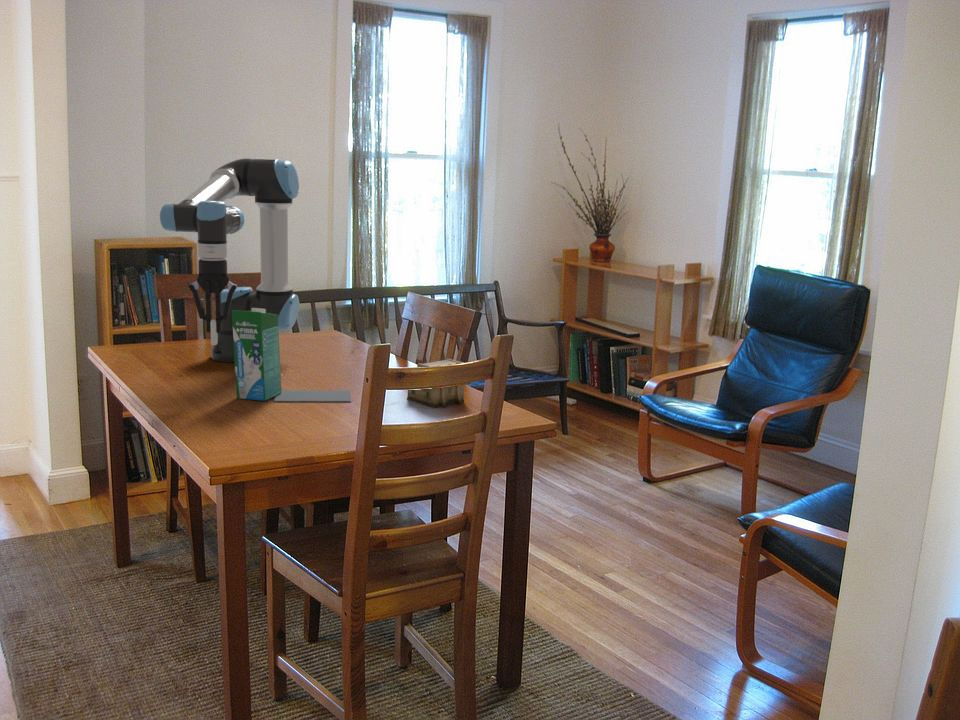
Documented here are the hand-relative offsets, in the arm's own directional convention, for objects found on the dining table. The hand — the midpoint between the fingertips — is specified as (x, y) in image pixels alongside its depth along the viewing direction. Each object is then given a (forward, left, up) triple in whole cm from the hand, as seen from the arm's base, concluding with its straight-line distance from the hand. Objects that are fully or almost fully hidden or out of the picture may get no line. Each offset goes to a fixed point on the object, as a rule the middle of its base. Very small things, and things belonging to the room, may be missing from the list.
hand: (214, 344), depth 262 cm
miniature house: (+3, +62, -15) cm, 64 cm away
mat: (0, +27, -15) cm, 31 cm away
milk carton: (0, +12, -15) cm, 19 cm away
